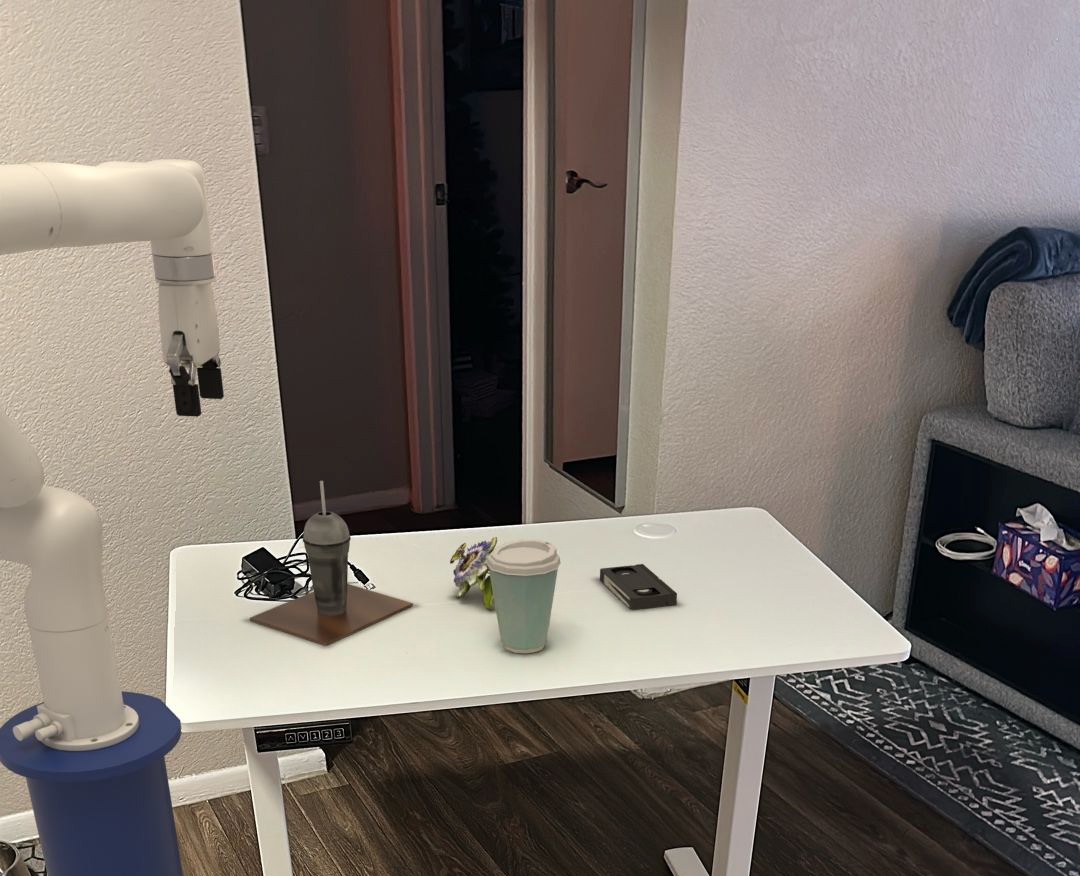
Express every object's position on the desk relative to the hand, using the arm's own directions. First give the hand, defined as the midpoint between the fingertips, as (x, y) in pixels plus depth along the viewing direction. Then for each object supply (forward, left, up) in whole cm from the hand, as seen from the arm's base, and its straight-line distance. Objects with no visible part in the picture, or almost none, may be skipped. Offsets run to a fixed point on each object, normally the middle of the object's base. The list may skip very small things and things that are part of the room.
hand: (200, 406), depth 172 cm
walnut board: (+18, -4, -34) cm, 39 cm away
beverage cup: (+18, -4, -34) cm, 39 cm away
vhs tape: (+55, -37, -34) cm, 75 cm away
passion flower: (+38, -19, -34) cm, 55 cm away
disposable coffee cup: (+26, -35, -34) cm, 56 cm away
